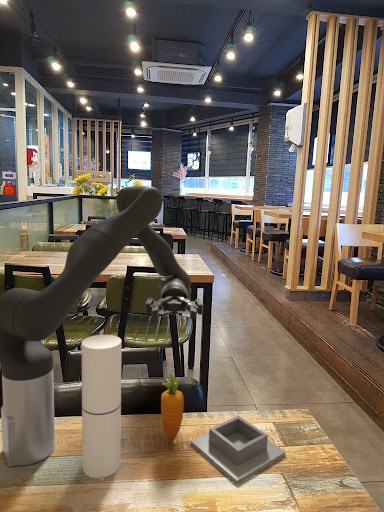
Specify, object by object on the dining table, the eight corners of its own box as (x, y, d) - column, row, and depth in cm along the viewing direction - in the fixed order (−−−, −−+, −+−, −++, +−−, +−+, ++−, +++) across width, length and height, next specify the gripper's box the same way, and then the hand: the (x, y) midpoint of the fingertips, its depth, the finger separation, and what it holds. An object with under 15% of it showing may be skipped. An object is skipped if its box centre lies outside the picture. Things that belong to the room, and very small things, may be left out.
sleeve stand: (236, 484, 68) (238, 464, 67) (190, 444, 79) (191, 426, 78) (285, 455, 76) (286, 437, 76) (237, 422, 87) (238, 406, 87)
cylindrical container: (86, 482, 67) (86, 351, 63) (79, 458, 73) (78, 337, 70) (124, 470, 70) (126, 345, 67) (114, 448, 76) (115, 332, 73)
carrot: (179, 451, 76) (182, 382, 74) (156, 447, 77) (158, 379, 75) (184, 436, 81) (187, 372, 79) (163, 433, 82) (164, 369, 80)
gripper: (148, 283, 102) (144, 298, 86) (200, 284, 103) (205, 300, 87) (148, 309, 103) (143, 329, 87) (199, 310, 104) (203, 330, 88)
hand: (174, 314), depth 87 cm, fingers open, 8 cm apart
